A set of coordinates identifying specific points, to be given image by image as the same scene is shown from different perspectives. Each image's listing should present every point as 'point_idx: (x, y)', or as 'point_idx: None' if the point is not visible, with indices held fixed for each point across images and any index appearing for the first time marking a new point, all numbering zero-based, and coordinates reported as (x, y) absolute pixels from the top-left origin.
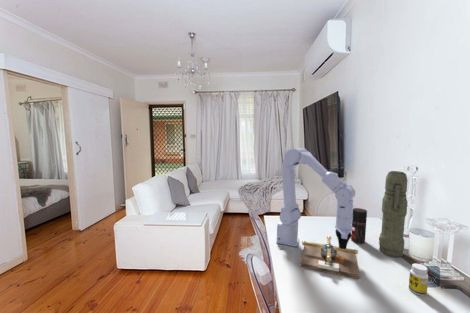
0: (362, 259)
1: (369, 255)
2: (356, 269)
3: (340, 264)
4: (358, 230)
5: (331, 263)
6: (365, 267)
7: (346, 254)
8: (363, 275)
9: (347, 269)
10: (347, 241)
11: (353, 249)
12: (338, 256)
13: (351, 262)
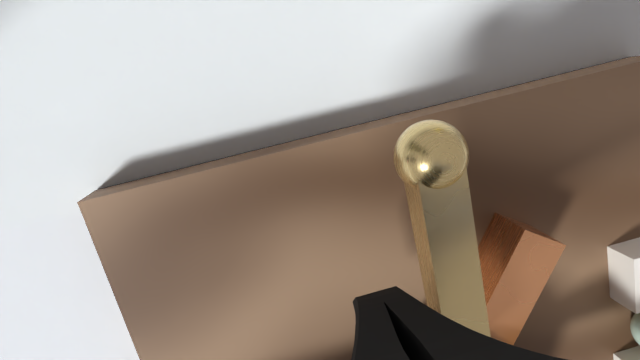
0: (200, 75)
1: (16, 9)
2: (574, 92)
3: None
4: None
5: (568, 314)
6: (376, 23)
7: (286, 245)
8: (548, 25)
9: (614, 168)
10: (508, 350)
11: (423, 195)
12: (516, 304)
13: None
